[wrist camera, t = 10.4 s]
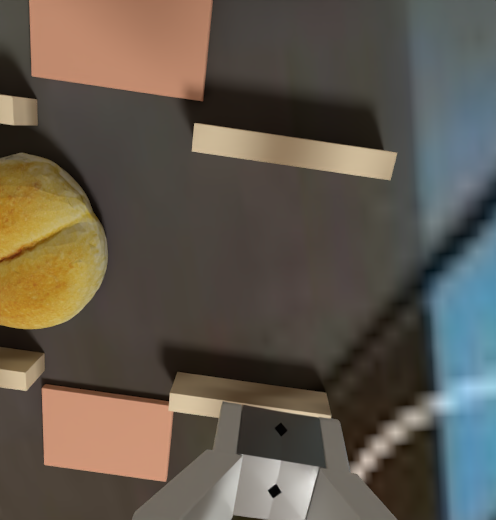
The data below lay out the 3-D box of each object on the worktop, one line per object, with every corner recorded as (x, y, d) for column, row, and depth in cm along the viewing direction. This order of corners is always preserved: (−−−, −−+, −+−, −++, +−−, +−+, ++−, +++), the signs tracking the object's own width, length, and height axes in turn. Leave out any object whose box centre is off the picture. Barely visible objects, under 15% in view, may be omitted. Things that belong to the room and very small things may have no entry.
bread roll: (10, 328, 24) (-39, 366, 20) (-69, 182, 21) (-142, 194, 17) (138, 293, 23) (113, 326, 19) (73, 134, 20) (28, 136, 16)
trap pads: (217, -48, 17) (216, -52, 17) (167, 476, 27) (165, 481, 26) (32, -76, 17) (26, -80, 17) (47, 460, 27) (44, 464, 26)
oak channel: (384, 150, 20) (413, 156, 16) (322, 409, 24) (332, 461, 21) (-116, 77, 19) (-209, 65, 16) (-77, 353, 24) (-141, 395, 20)
